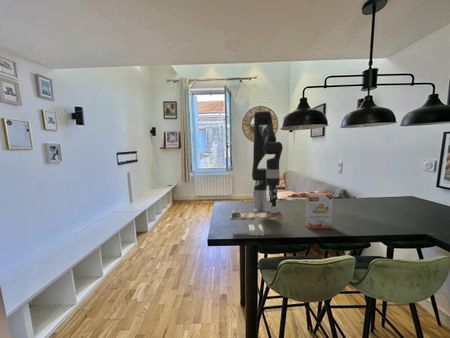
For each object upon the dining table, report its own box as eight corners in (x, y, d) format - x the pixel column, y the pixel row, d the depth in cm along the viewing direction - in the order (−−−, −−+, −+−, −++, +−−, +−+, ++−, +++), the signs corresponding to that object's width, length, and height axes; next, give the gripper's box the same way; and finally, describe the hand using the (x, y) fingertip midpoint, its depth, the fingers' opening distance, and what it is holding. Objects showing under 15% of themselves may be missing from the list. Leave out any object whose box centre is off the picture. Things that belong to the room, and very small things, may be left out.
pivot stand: (249, 235, 122) (249, 215, 120) (248, 226, 135) (248, 208, 133) (263, 235, 121) (263, 215, 120) (261, 226, 134) (261, 208, 133)
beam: (230, 220, 124) (230, 213, 123) (231, 215, 132) (231, 209, 132) (282, 219, 121) (282, 212, 121) (279, 214, 130) (279, 208, 130)
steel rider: (268, 213, 129) (268, 205, 129) (277, 213, 129) (277, 205, 128) (269, 216, 124) (269, 207, 124) (278, 215, 124) (278, 207, 123)
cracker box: (308, 229, 128) (309, 195, 126) (304, 225, 134) (305, 192, 132) (332, 228, 128) (333, 194, 126) (327, 225, 134) (328, 192, 132)
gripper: (281, 178, 116) (281, 207, 118) (277, 175, 131) (277, 201, 132) (267, 178, 117) (267, 208, 119) (264, 175, 131) (264, 201, 133)
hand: (272, 204), depth 125 cm, fingers open, 8 cm apart
